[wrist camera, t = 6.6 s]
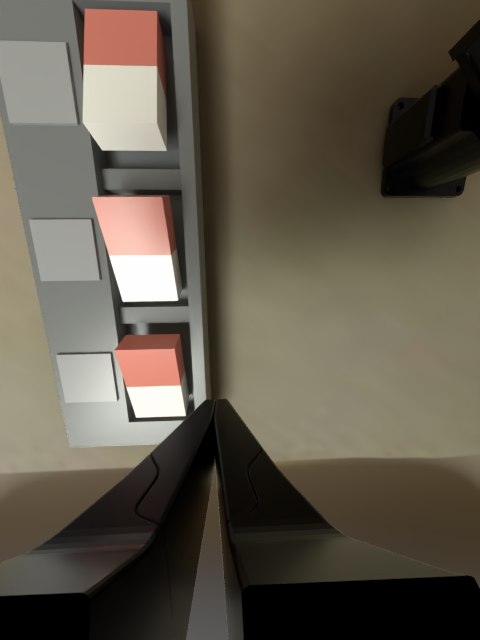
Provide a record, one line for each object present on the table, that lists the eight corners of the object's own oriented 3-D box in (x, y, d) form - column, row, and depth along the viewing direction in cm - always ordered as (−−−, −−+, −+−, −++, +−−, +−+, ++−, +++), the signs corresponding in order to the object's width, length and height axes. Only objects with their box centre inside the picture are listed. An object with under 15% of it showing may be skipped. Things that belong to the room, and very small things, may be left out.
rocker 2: (169, 195, 14) (161, 197, 13) (182, 290, 17) (178, 300, 16) (106, 194, 14) (91, 197, 12) (132, 290, 17) (122, 301, 16)
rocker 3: (179, 333, 16) (174, 348, 15) (189, 397, 19) (185, 415, 18) (125, 335, 16) (114, 350, 14) (143, 399, 19) (136, 417, 18)
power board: (195, 26, 16) (183, -54, 12) (211, 413, 22) (207, 444, 18) (29, 22, 15) (-40, -63, 11) (96, 417, 22) (67, 449, 18)
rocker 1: (166, 52, 14) (156, 10, 12) (166, 150, 14) (156, 123, 12) (103, 50, 14) (84, 8, 12) (102, 150, 14) (82, 122, 12)
